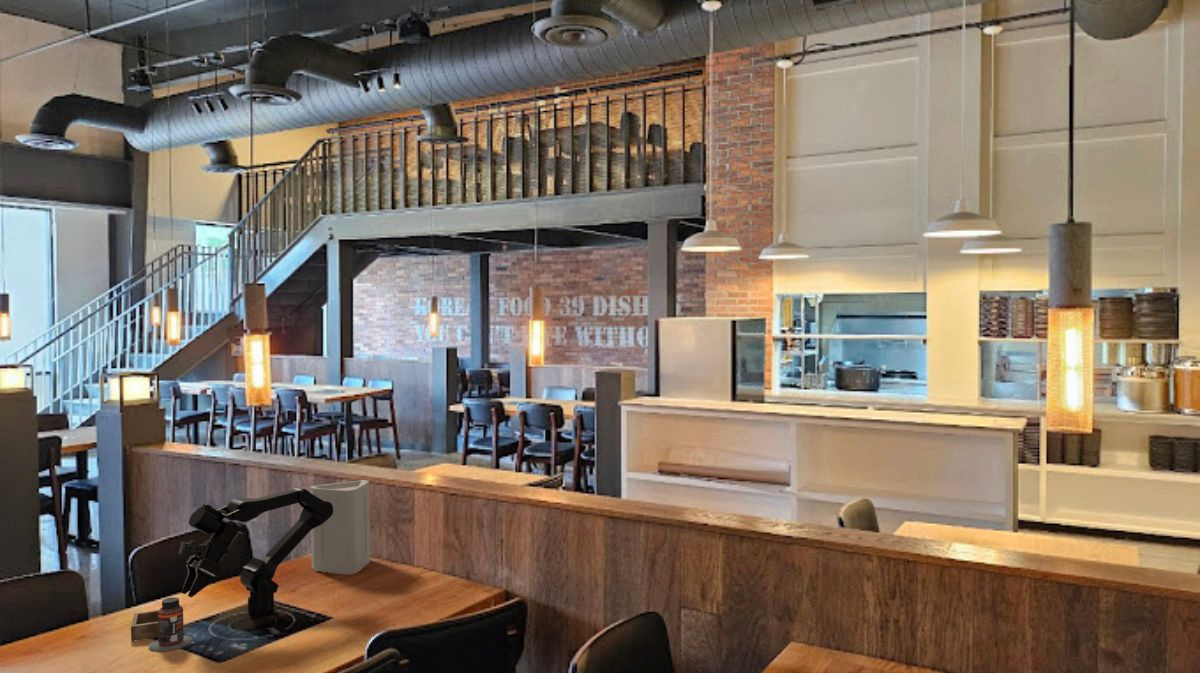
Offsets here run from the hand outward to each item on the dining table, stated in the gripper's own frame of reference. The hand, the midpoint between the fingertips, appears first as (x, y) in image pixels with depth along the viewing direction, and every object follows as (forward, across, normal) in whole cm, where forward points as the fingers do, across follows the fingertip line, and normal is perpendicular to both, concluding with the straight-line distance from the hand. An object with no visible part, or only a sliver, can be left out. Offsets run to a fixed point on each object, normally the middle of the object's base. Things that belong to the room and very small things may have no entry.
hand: (186, 595), depth 222 cm
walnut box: (+11, -10, 0) cm, 15 cm away
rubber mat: (+12, +2, +3) cm, 13 cm away
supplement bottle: (+12, +2, +3) cm, 12 cm away
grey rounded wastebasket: (-28, -33, +47) cm, 64 cm away
